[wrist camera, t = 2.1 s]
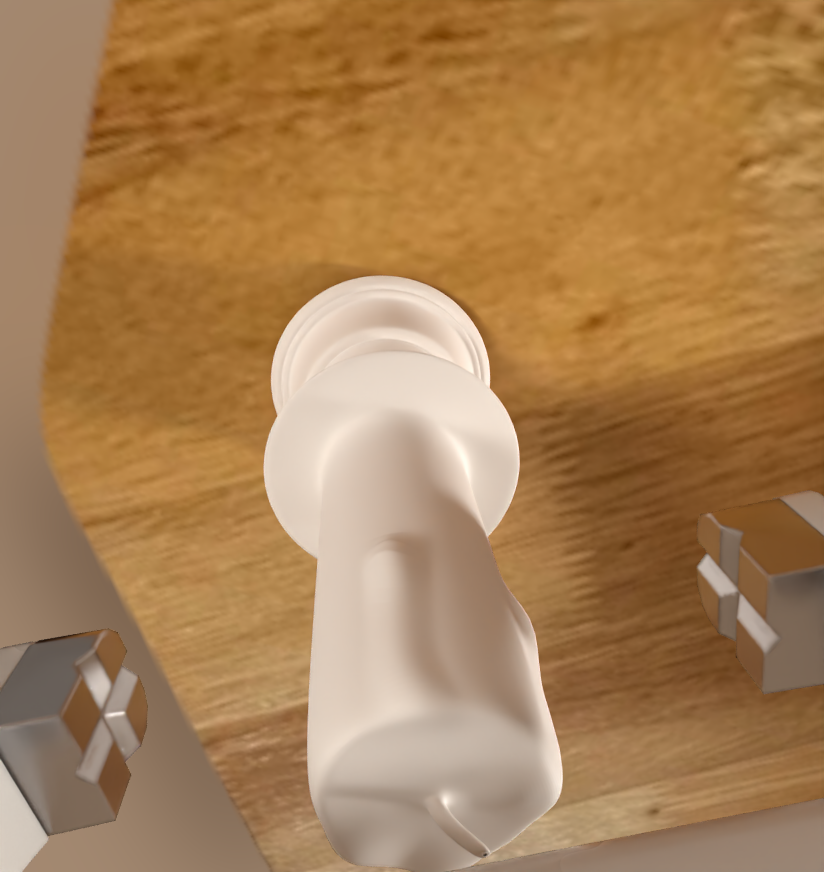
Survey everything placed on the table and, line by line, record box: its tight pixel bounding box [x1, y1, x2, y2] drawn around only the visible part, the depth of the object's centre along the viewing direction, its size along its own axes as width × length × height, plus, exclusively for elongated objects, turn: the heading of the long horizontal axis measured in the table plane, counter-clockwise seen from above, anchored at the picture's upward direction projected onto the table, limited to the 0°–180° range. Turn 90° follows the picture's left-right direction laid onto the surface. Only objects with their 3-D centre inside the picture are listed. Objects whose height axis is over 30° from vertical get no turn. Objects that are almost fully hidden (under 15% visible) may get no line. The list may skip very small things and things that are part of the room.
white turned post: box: [264, 276, 563, 872], centre depth 11 cm, size 5×5×12 cm
